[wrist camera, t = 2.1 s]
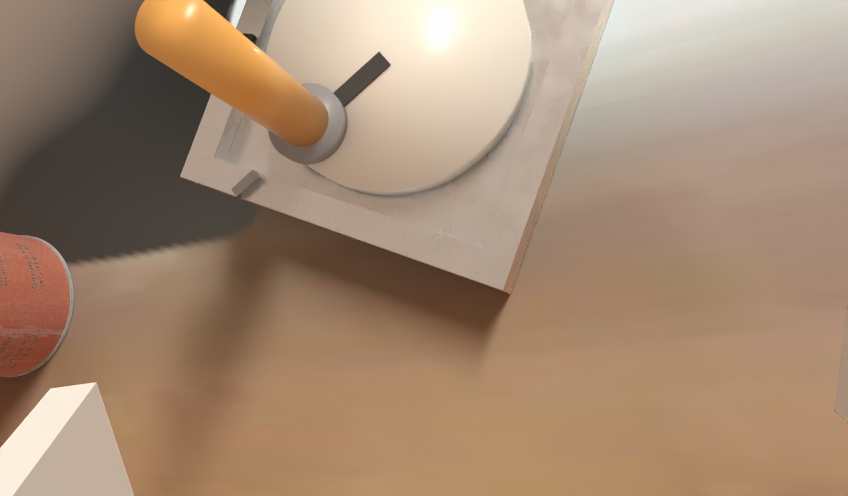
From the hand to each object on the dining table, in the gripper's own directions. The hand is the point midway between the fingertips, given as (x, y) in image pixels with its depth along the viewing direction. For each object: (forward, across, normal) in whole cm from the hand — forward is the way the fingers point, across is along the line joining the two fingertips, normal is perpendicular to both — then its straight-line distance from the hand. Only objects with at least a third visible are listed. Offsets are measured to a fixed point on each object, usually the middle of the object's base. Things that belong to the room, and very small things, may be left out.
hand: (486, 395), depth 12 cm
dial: (+36, 0, +3) cm, 36 cm away
